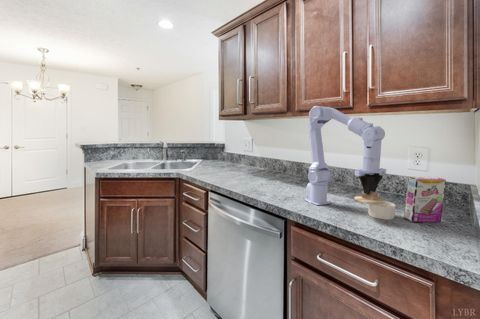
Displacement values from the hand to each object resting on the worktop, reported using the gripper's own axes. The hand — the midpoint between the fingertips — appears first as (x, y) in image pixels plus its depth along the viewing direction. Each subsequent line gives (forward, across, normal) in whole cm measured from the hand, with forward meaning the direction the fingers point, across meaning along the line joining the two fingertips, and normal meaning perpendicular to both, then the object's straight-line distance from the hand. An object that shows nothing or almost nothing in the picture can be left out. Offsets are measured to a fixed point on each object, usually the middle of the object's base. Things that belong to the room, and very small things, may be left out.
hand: (369, 193), depth 98 cm
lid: (+3, 0, 0) cm, 3 cm away
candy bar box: (+10, +16, -11) cm, 21 cm away
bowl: (+10, +6, -1) cm, 11 cm away
